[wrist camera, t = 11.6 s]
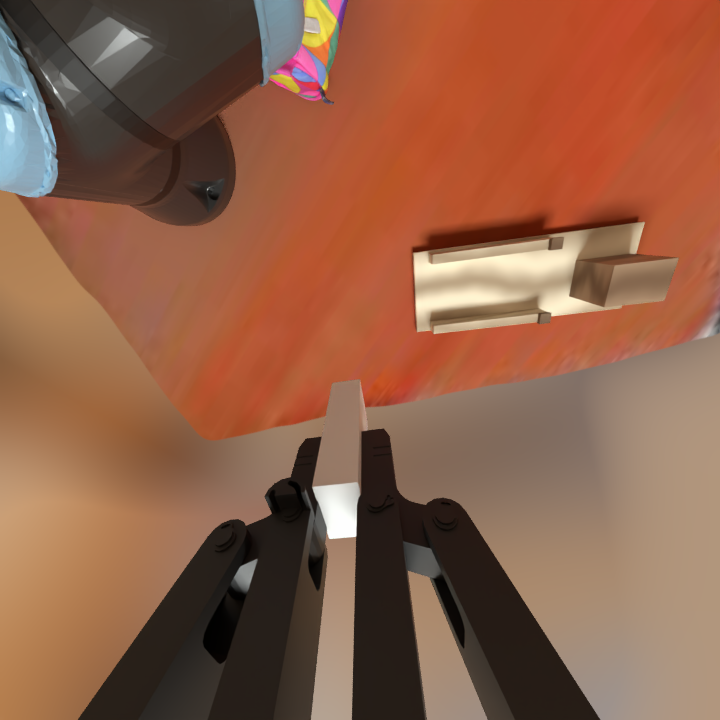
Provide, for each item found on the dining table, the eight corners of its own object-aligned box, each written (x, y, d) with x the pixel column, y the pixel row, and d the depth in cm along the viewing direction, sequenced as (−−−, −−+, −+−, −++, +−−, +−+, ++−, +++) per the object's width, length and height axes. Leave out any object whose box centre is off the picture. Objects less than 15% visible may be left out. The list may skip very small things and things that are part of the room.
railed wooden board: (412, 252, 39) (417, 254, 35) (637, 222, 37) (668, 221, 33) (416, 329, 44) (420, 338, 40) (615, 306, 42) (640, 313, 38)
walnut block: (575, 260, 38) (614, 265, 32) (629, 253, 37) (678, 257, 32) (568, 296, 40) (604, 307, 34) (619, 290, 40) (664, 300, 34)
